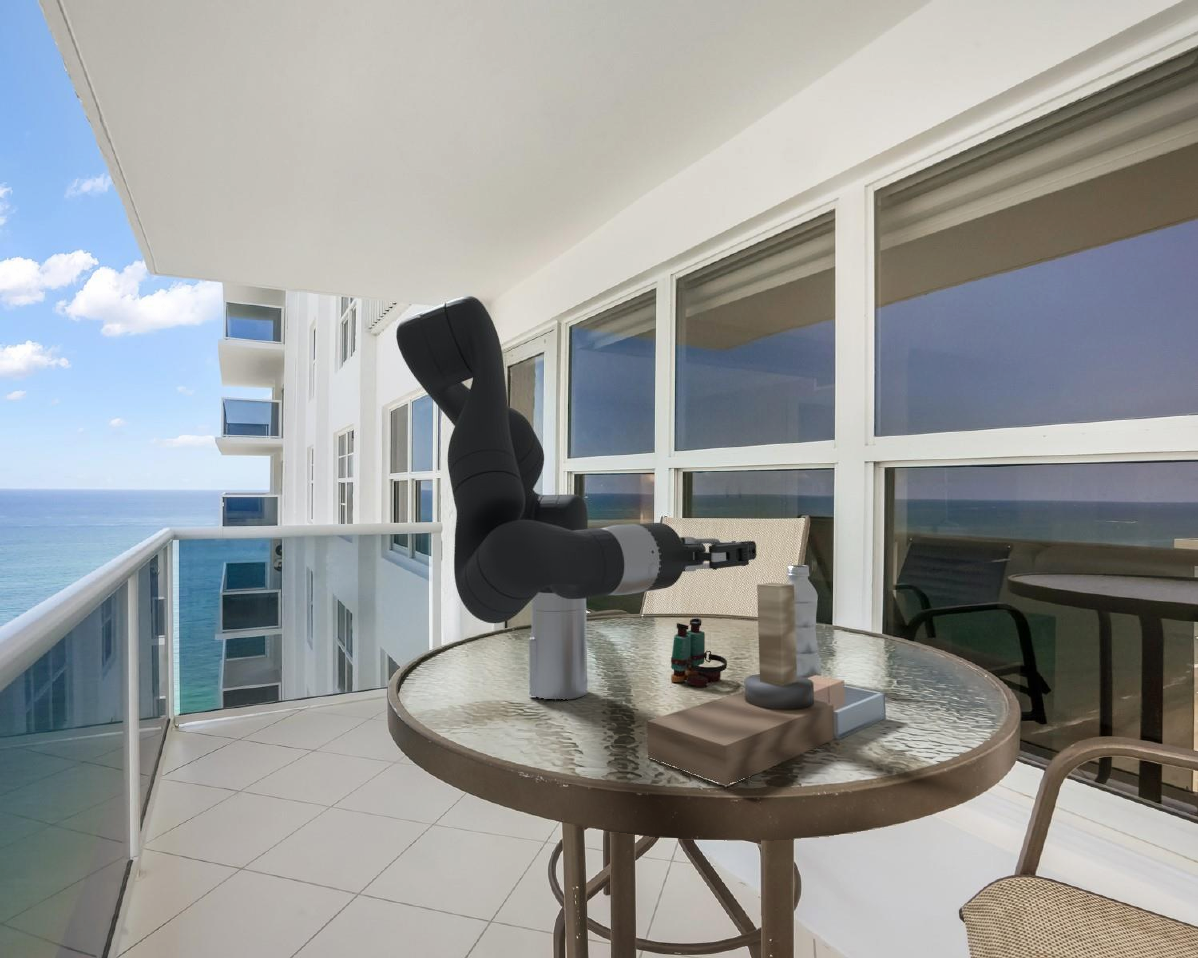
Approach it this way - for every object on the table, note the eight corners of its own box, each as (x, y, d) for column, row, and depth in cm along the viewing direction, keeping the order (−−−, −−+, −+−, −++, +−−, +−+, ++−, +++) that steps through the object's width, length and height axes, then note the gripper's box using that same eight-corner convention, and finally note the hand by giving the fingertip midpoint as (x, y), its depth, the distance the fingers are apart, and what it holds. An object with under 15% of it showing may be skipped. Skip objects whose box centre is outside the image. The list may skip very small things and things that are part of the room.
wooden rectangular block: (726, 787, 72) (725, 745, 72) (647, 758, 81) (647, 720, 81) (834, 739, 87) (833, 704, 87) (757, 718, 96) (756, 686, 96)
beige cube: (829, 686, 94) (844, 680, 97) (800, 680, 97) (815, 675, 100) (830, 718, 94) (845, 711, 97) (801, 711, 97) (816, 705, 100)
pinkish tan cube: (813, 725, 90) (812, 692, 91) (783, 718, 94) (782, 686, 94) (829, 718, 94) (828, 686, 94) (800, 711, 97) (799, 680, 97)
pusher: (789, 714, 83) (785, 589, 84) (731, 700, 90) (728, 584, 91) (827, 700, 89) (823, 583, 90) (770, 687, 96) (766, 579, 96)
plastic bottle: (824, 684, 114) (820, 567, 115) (783, 682, 116) (779, 567, 117) (819, 674, 121) (815, 564, 122) (780, 673, 122) (777, 564, 123)
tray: (838, 739, 87) (837, 712, 87) (755, 717, 96) (755, 693, 97) (885, 718, 95) (884, 693, 95) (805, 699, 105) (804, 677, 105)
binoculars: (714, 633, 111) (664, 621, 117) (710, 696, 111) (660, 681, 117) (739, 625, 118) (691, 615, 124) (735, 684, 118) (687, 671, 124)
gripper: (680, 525, 68) (772, 519, 78) (590, 523, 78) (682, 517, 89) (682, 599, 67) (774, 582, 78) (591, 586, 78) (683, 573, 89)
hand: (725, 548), depth 84 cm, fingers open, 8 cm apart
